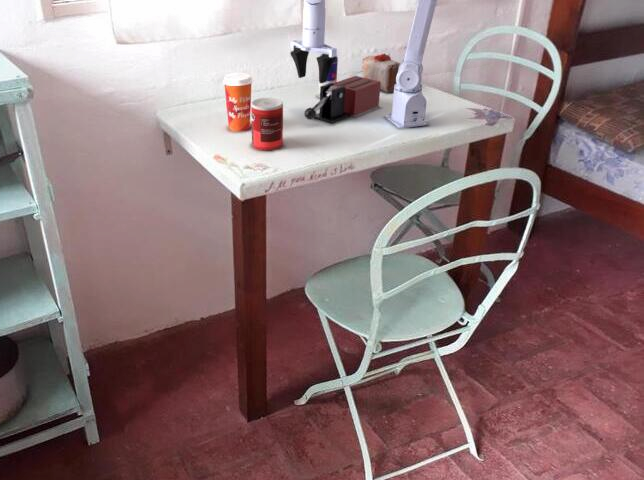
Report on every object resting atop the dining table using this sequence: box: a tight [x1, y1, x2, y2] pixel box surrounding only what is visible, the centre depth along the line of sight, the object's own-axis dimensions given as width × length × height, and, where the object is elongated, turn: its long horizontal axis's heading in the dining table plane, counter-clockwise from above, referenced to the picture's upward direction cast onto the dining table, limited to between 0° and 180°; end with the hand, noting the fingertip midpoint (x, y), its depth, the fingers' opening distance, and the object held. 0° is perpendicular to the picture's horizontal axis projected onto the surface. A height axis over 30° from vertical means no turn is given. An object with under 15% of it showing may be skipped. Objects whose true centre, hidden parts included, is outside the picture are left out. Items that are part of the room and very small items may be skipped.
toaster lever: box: [304, 86, 337, 120], centre depth 177 cm, size 12×3×3 cm, turn 132°
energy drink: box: [317, 54, 339, 98], centre depth 195 cm, size 5×5×12 cm
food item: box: [361, 53, 401, 94], centre depth 202 cm, size 14×8×10 cm, turn 29°
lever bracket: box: [312, 83, 352, 125], centre depth 180 cm, size 8×7×9 cm
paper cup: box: [222, 72, 254, 132], centre depth 175 cm, size 8×8×14 cm
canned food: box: [250, 97, 284, 152], centre depth 165 cm, size 8×8×11 cm
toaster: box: [334, 75, 381, 118], centre depth 186 cm, size 11×9×8 cm
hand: (312, 79), depth 180 cm, fingers open, 7 cm apart
